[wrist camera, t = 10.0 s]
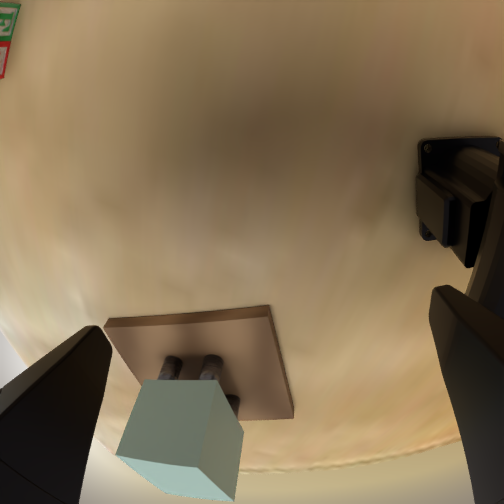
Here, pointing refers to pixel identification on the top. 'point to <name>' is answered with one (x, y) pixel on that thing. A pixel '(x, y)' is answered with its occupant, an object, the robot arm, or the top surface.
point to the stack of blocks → (6, 31)
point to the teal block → (184, 439)
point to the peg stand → (211, 356)
